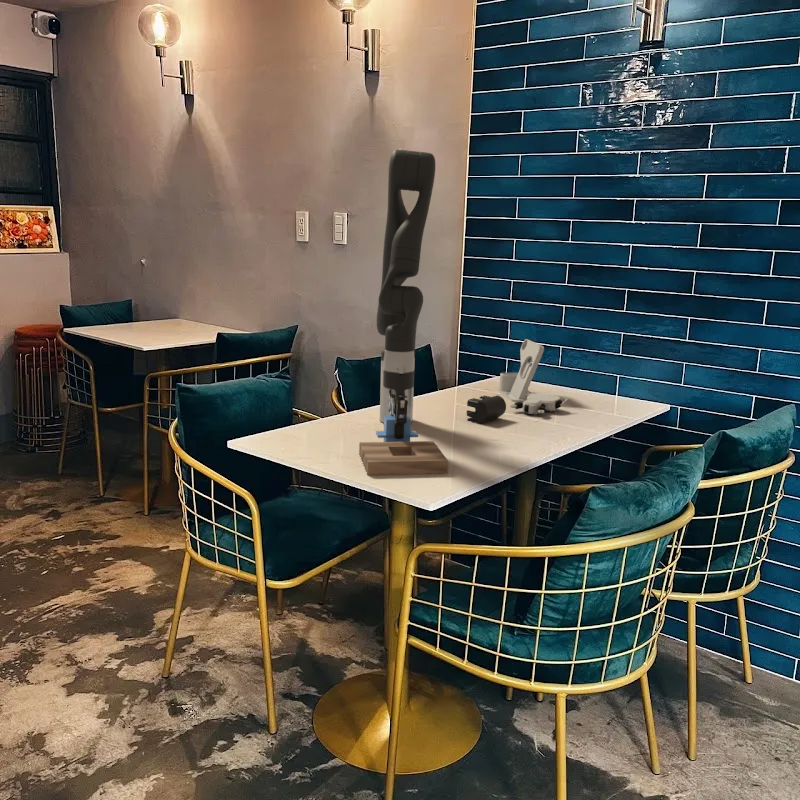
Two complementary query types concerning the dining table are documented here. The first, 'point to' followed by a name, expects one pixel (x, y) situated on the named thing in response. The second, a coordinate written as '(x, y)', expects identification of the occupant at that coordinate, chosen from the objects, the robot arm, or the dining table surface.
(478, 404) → the end cap
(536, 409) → the robot toy
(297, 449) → the dining table surface
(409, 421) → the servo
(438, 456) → the board
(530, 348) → the phone holder
